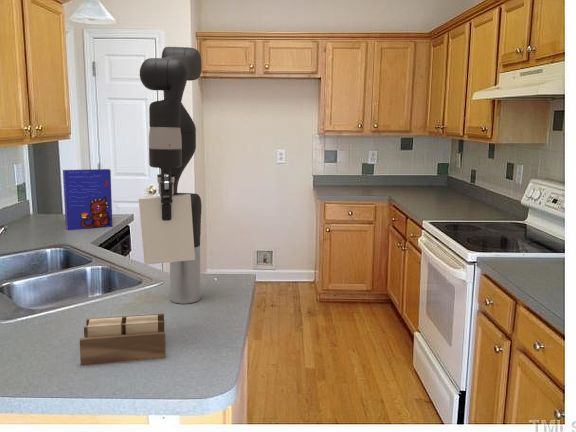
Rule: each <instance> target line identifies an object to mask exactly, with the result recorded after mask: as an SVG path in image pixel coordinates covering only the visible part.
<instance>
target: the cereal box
mask: <svg viewBox="0 0 576 432" xmlns="http://www.w3.org/2000/svg"><path fill="white" fill-rule="evenodd" d="M111 175H112V172H111V169H109V168H101V169H99V168H98V169H96V168H95V169H93V168H92V169H91V168H90V169H88V168H87V169H62V178H63V180H62V181H63V182H62V183H63V200H64V218H65V220H64V221H65V229H66V230H67V231H74V230H75V231H77V230H88V229H102V228H113V227H114V226H113V205H112V202H113V201H112V176H111Z"/></svg>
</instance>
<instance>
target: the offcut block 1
mask: <svg viewBox="0 0 576 432" xmlns="http://www.w3.org/2000/svg"><path fill="white" fill-rule="evenodd" d="M116 317H117V318H106V317H101V318H102V319H91V318H89V319H90V321H89V324H88V327H87V328H88V338H90V337H103V336H116V335H123V329H122V317H121V316H116Z"/></svg>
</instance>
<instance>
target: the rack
mask: <svg viewBox="0 0 576 432" xmlns="http://www.w3.org/2000/svg"><path fill="white" fill-rule="evenodd" d="M147 315H148V314H141V315H140V314H139V315H135V316H147ZM150 315H158V332H156V333H143V334H129V335H126V318H127V317H132V316H133V315H124V316H123V315H122V316H120V317H122V329H123V335H116V336H103V337H90V338H88V328H87V327H88V324H89V321H90V319H102V318H103V317H94V318H86V322H85V323H86V324H85V325H84V326H83V337H80V338H79V356H80V366H87V365H89V366H90V365H101V364H109V363H110V364H113V363H121V362H134V361H145V360H156V359H166V331H165V313H152V314H150ZM117 317H118V316H107V317H106V316H105V318H117Z"/></svg>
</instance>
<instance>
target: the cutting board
mask: <svg viewBox="0 0 576 432" xmlns="http://www.w3.org/2000/svg"><path fill="white" fill-rule="evenodd" d="M163 198H170V196H163ZM172 200H173V202H172V205H171V220H167V221H164V220H162V205H161V196H160V195H158V196H142V197H138V205H139V206H138V207H139V215H140V216H139V217H140V219H139V220H140V229H141V238H142V240H141V241H142V248H143V249H142V250H143V262H144V265H155V264H167V263H170V262H177V261H188V260H195V251H194V237H193V223H192V208H191V195H190V194H185V195H172Z"/></svg>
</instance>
